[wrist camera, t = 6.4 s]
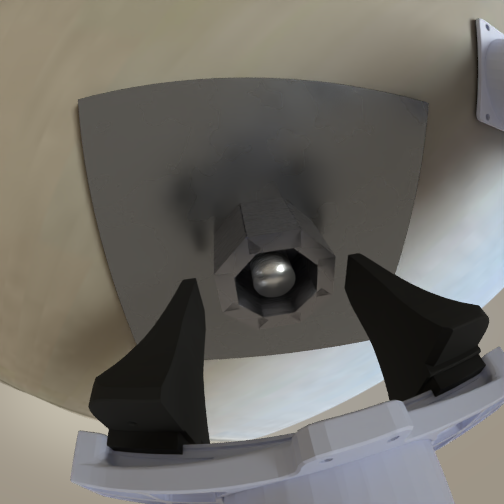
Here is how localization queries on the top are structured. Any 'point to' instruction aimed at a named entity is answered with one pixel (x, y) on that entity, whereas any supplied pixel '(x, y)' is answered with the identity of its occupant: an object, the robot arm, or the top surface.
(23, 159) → the top surface
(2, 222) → the top surface
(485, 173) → the top surface
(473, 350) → the robot arm
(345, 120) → the stand
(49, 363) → the top surface
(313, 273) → the ring
